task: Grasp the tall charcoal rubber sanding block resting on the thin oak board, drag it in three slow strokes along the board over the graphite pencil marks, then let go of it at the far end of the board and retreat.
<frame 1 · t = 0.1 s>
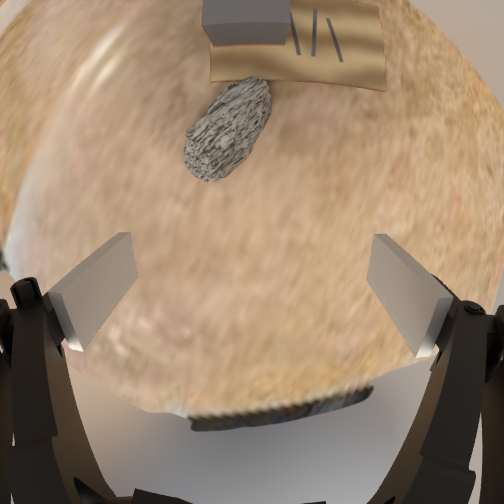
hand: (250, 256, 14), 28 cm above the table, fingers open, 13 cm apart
sanding block: (248, 31, 30), point 1 cm above the table, touching board
rock: (233, 133, 38), on the table
board: (300, 35, 31), on the table
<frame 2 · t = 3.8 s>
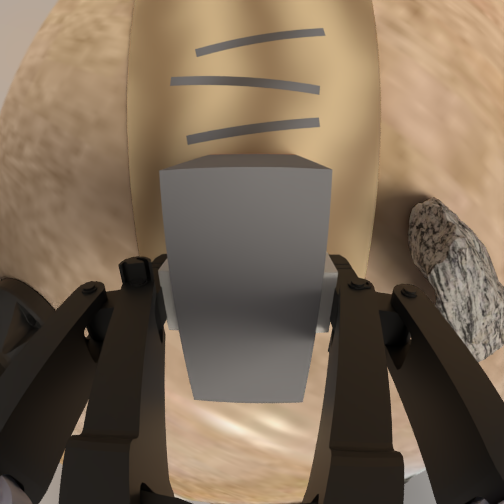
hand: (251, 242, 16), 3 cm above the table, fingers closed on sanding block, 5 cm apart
sanding block: (252, 232, 18), point 1 cm above the table, touching board, gripper
rock: (442, 260, 20), on the table
board: (253, 114, 16), on the table
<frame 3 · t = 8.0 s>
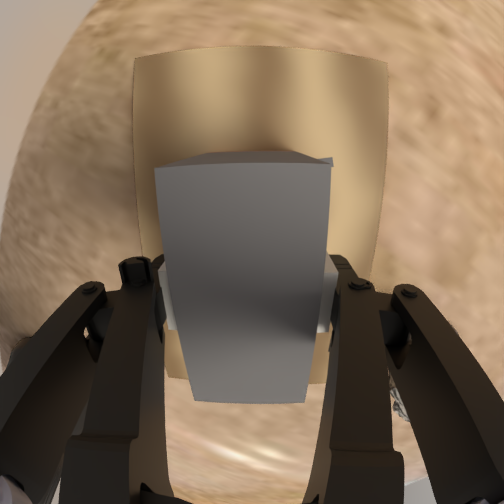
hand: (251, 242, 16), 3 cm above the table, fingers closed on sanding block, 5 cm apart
sanding block: (253, 231, 18), point 1 cm above the table, touching gripper
rock: (418, 343, 23), on the table
board: (258, 244, 19), on the table
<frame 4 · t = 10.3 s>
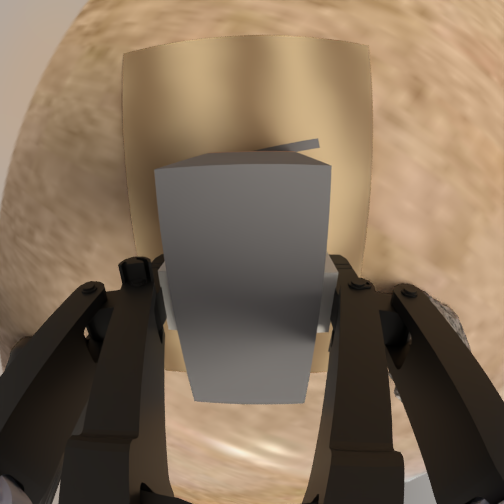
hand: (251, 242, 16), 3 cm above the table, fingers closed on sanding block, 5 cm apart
sanding block: (253, 231, 18), point 1 cm above the table, touching gripper
rock: (417, 328, 23), on the table
board: (248, 228, 19), on the table
when the fingers open (3 cm above the table, at t = 12.4 s): sanding block stays where it is, resting on board.
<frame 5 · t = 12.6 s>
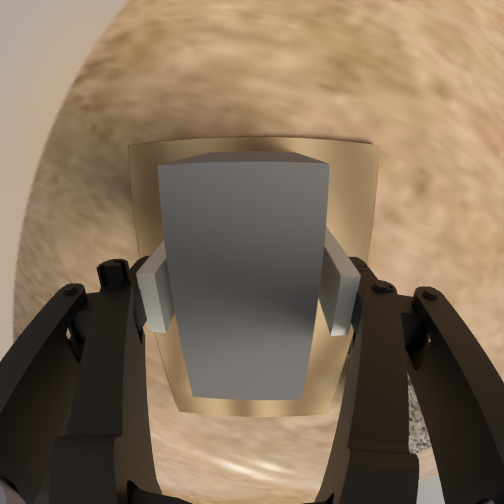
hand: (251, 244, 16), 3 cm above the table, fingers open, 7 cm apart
sanding block: (251, 230, 18), point 1 cm above the table, touching board
rock: (398, 379, 25), on the table
board: (253, 314, 21), on the table
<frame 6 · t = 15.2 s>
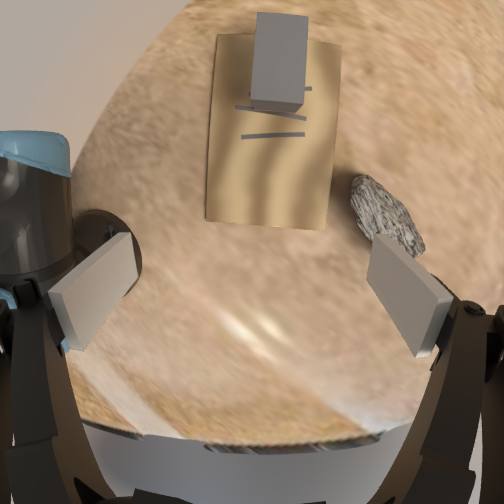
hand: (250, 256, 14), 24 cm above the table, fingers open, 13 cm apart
sanding block: (277, 75, 30), point 1 cm above the table, touching board
rock: (377, 214, 37), on the table
board: (273, 128, 33), on the table
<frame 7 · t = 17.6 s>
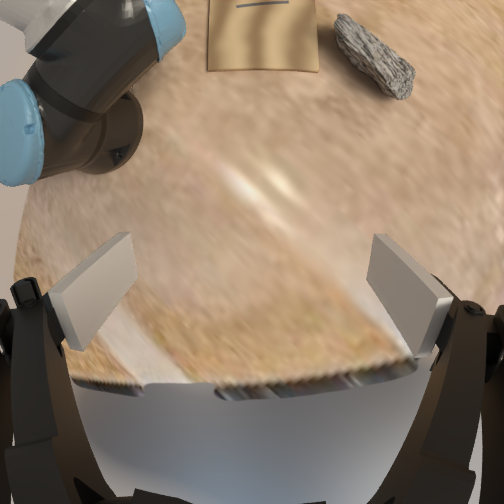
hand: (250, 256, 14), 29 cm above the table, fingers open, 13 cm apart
rock: (365, 63, 33), on the table
board: (262, 1, 29), on the table
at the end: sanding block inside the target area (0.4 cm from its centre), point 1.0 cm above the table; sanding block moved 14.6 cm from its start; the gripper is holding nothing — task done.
